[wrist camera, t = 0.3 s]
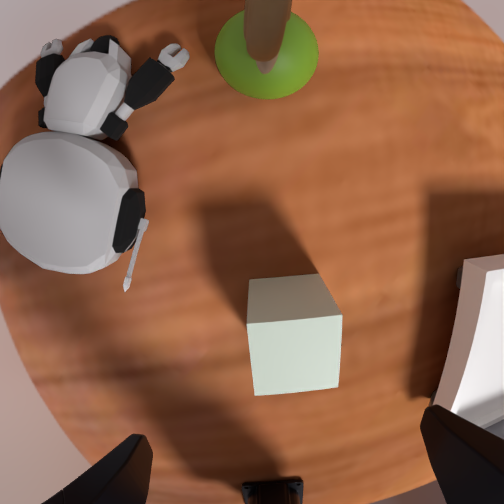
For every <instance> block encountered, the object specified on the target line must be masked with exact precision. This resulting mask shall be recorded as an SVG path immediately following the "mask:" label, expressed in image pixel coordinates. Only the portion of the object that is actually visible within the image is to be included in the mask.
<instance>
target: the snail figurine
mask: <svg viewBox="0 0 504 504" xmlns="http://www.w3.org/2000/svg"><path fill="white" fill-rule="evenodd" d="M291 5H292V0H245V9H244V10H243V11H241V12H239V13H237V14H236V15H234V16H233V17H232V18H230V19H229V20H228V21H227V22H226V23H225V25H224V26H223V27H222V29H221V30H220V32H219V34H218V36H217V39H216V43H215V61H216V65H217V67H218V70H219V72H220V74H221V75H222V77H223V78H224V80H225V81H226V82H227V83H228V84H229V85H230V86H231V87H233V88H234V89H235V90H237V91H238V92H240V93H242V94H244V95H247V96H250V97H253V98H258V99H277V98H282V97H285V96H288V95H290V94H292V93H294V92H296V91H298V90H299V89H300V88H302V87H303V86H304V85H305V84H306V83H307V82H308V81H309V80H310V78H311V77H312V75H313V73H314V71H315V69H316V66H317V63H318V54H319V52H318V44H317V40H316V38H315V35H314V33H313V31H312V30H311V28H310V27H309V26H308V24H307V23H306V22H305V21H304V20H303V19H301V18H300V17H299V16H298V15H296V14H294V13H293V12H291Z"/></svg>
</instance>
